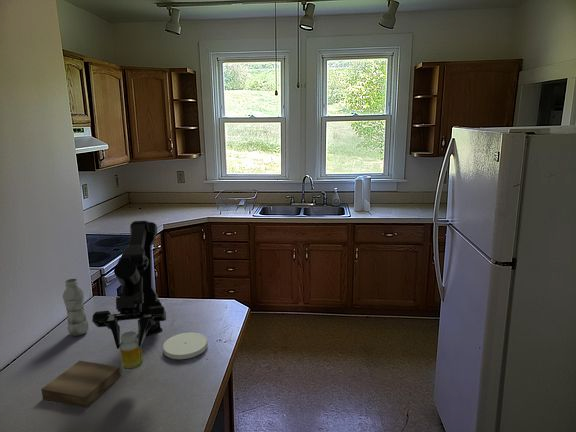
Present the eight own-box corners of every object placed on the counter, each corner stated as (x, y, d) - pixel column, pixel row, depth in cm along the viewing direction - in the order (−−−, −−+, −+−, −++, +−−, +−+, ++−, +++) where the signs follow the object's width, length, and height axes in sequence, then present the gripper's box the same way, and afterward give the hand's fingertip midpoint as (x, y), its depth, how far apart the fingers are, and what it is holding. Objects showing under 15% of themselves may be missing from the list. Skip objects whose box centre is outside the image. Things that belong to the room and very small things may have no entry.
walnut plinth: (80, 369, 124) (79, 360, 124) (120, 375, 121) (119, 366, 120) (42, 398, 111) (41, 389, 111) (86, 407, 108) (84, 397, 107)
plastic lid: (155, 351, 134) (154, 344, 134) (191, 334, 144) (191, 328, 144) (179, 367, 125) (178, 360, 124) (216, 349, 135) (215, 342, 134)
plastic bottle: (81, 338, 142) (73, 284, 138) (64, 337, 144) (55, 283, 139) (93, 329, 148) (86, 277, 144) (76, 328, 150) (69, 276, 145)
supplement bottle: (120, 365, 115) (115, 334, 112) (139, 358, 118) (135, 327, 115) (125, 374, 110) (120, 342, 108) (145, 367, 113) (141, 335, 111)
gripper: (89, 284, 111) (83, 343, 103) (161, 278, 114) (160, 335, 106) (100, 299, 120) (95, 354, 112) (166, 293, 123) (166, 346, 115)
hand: (128, 347), depth 111 cm, fingers closed on supplement bottle, 5 cm apart
